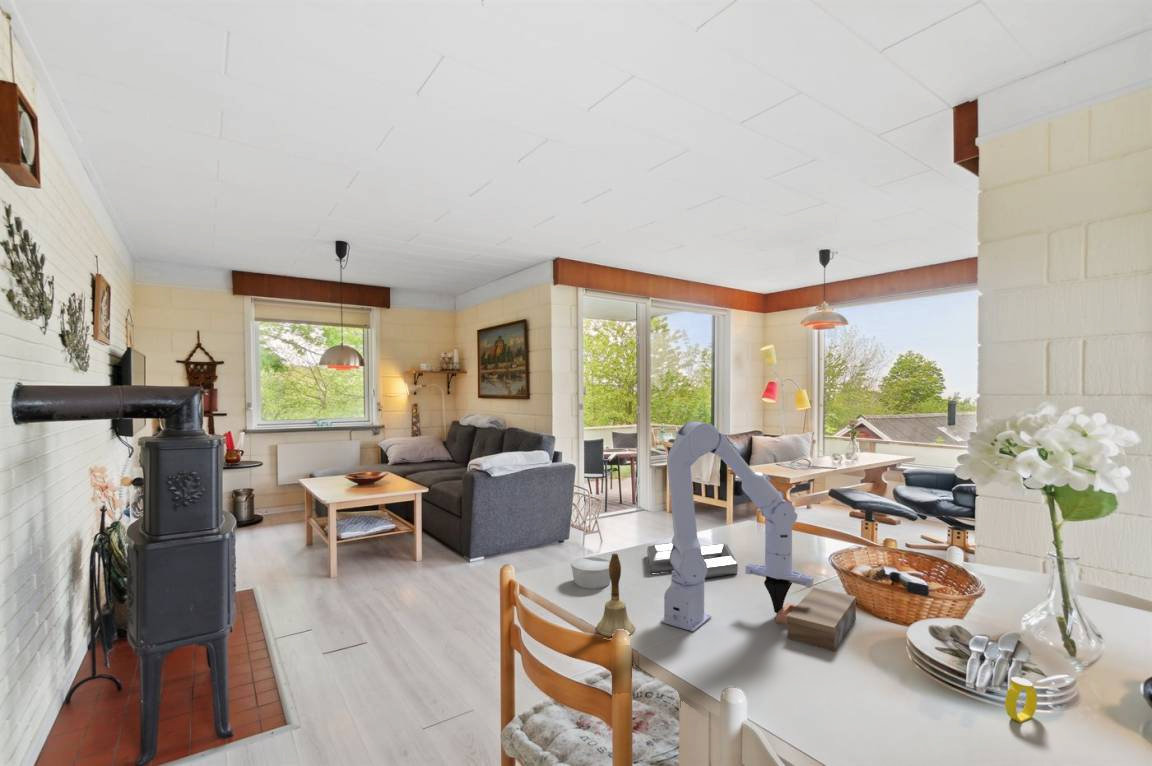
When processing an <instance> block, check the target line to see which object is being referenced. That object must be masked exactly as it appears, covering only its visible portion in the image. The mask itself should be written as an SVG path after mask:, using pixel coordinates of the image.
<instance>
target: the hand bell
mask: <svg viewBox="0 0 1152 766" xmlns="http://www.w3.org/2000/svg"><path fill="white" fill-rule="evenodd" d="M609 575H610V579H611V581H610V583H611V593H610V596H611V597H610V598H611V599H610V600H608V601H607V602H605V604H604V609H603V610H604V611H603V616H602V618H601V620H600V621H599V622H598V623H597V624H596V627H595V630H596V631H597V633H599V634H600V635H602V636H605V637H609V638H612V637H611V636H612V634H613V633H614V631H616V630H617V629H624V630H627V631H628V632H629V633H630V634H631V635H632V634H634V632H635V630H636V627H635V625H634V623H633V622H632V621H631V620H630V618H629V615H628V613H627V606H626V603H625V602H624V601H622V600H620V585H619V584H620V579H621V575H622V565H621V560H620V558H619V554H618V553H612V554H611V558H610V564H609Z"/></svg>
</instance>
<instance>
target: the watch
mask: <svg viewBox="0 0 1152 766" xmlns="http://www.w3.org/2000/svg"><path fill="white" fill-rule="evenodd" d="M1010 684H1011V685H1010V686H1009V688H1008V689H1007V693H1006V696H1005V705H1004V707H1005V710H1006V714H1007V716H1008V717H1009V718H1011V719H1012V720H1014V721H1016V722H1018V723H1023V722H1025V721H1028V720H1030V719H1033V717H1034V714H1035V712H1036V709H1037V706H1038V705H1037V704H1038V693H1037V691H1036V689H1035V687H1034V684H1033V682H1031V681H1030V680H1028V679H1026V678H1023V677H1017V676H1012V677H1010ZM1023 690H1024V691H1025V697H1026V699H1025V703H1026V705H1025V703H1024V707H1023V708H1022V710H1021V712H1018V713H1017V702H1018V699H1019V695H1020V694H1021V692H1022V691H1023Z"/></svg>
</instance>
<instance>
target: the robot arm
mask: <svg viewBox="0 0 1152 766" xmlns="http://www.w3.org/2000/svg"><path fill="white" fill-rule="evenodd" d="M708 453H711V454H714V455H716V456H718V457H719V458H720V460H722V461H723V463H725V464H726V465H727V467H728V468H729V469H730V470H731V471H732V472H733V473H734V474H735V475H736V476H737V477H738V478H739V479H740V480H741V489H742V491H743V492H744V493H745V494H746V496H748V498H749V499H750V500H751V501H752V502H753V504H754V505H756V506H757V508H758V509H759V510H760V514H761V516H762V517H764V518H765V524H764V525H765V526H764V527H765V529H764V530H765V532H764V534H765V536H764V540H765V541H764V542H765V543H764V545H765V546H764V548H765V549H764V554H765V555H764V560H765V561H764V565H763V564H753V563H747V564H746V565H745V574H746V575H748V576H749V575H754V576H759V577H763V578H765V580H764V581H763V584H764V586H765V588H766V590H767V592H768V594H769V597H770V599H771V603H772V607H773V611H774V614H775V613H776V614H777V613H778V612H779V611H780V610H781V609H782V608H783V607H784V603H785V600H786V597H787V595H788V592H789V590H790V588H791V586H792V584H796V585H800V586H804V587H806V588H809V589H811V588H813V587H814V576H812V575H808V574H804V573H801V572H798V571H795V570H793V525H794V524H795V523H796V521H797V519H798V513H796V509H795V506H794V504H792V502H789V501H787V500H785V499H784V495H785V494H784V493H783V492H781V491H779V490H777V489H776V488H775V486H774V485H773V484H772V483H771V482H770V481H771V478H770V476H769V475H767V474H765V473H764V474H763V472H761V471H759V472H758V471H754V470H753V469H752V468H751V467H750V466H749V465H748V463H747V462H746V461H745V459H744V458H743V457H742V456H741V455H740V453H739V452H738V450H736V448H735V447H734V446H733V445H732V443H730V441H729V440H728V438H727V437H726V436H725V435H724V434H723V433H721V432H719V431H718V429H717V428H716V427H715V426H714V425H713V424H710V423H706V422H705V423H704V422H701V421H699V420H689V421H687V422H686V423H684V424H683V425H682V426H681V427H680V428H679V429H677V431H676V435H675V438H674V440H673V442H672V445H671V447H670V449H669V451H668V454H667V456H666V465H667V473H668V485H669V494H670V496H669V497H670V507H671V515H672V516H671V517H672V527H673V537H672V539H671V543H672V549H671V552H670V556H669V559H670V563H671V565H672V566H673V567H674V570H673V572H671V582H670V585H669V586H668V588H667V589H666V590H665V592H664V599H663V600H664V601H663V602H664V603H663V605H664V606H663V609H664V611H663V612H664V614H663V615H664V616H663V617H662V618H660V622H661V623H663V624H666V625H670V626H673V627H677V628H679V629H680V628H681V629H683V630H687V631H689V630H690V632H695V631H696V630H698V628H700V627H701V626H702V625H703V624H705V623H706V622H707V621H708V620H709V619H711V618H712V615H711V614H709V613H706V612H705V579H706V578H705V577H706V575H707V571H708V567H707V563H706V561H705V560H704V559H703V556H702V550H701V547H700V546H701V543H700V542H699V538H698V531H697V522H696V510H695V501H694V499H695V498H694V489H693V479H692V470H691V469H692V468H691V466H692V465H694V464H695V462H697V460H698V459H699V458H701V457H703V456H704V455H707V454H708Z"/></svg>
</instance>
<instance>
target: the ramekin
mask: <svg viewBox="0 0 1152 766" xmlns="http://www.w3.org/2000/svg"><path fill="white" fill-rule="evenodd" d="M610 560H611V559H610ZM610 560H609V559H606V558H604V557H603V558H602V557H598V556H597V557H596V556H588V557H587V556H586V557H579V558H576V559H573V560H572V562H571V564H570V568H571V571H572V577H573V582H574V584H575V585H576V586H578V587H580V588H582V589H586V590H587V589H588V590H597V589H602V588H606V587H607V586H609V585H610V583H611V579H610V575H609V564H610Z"/></svg>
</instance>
